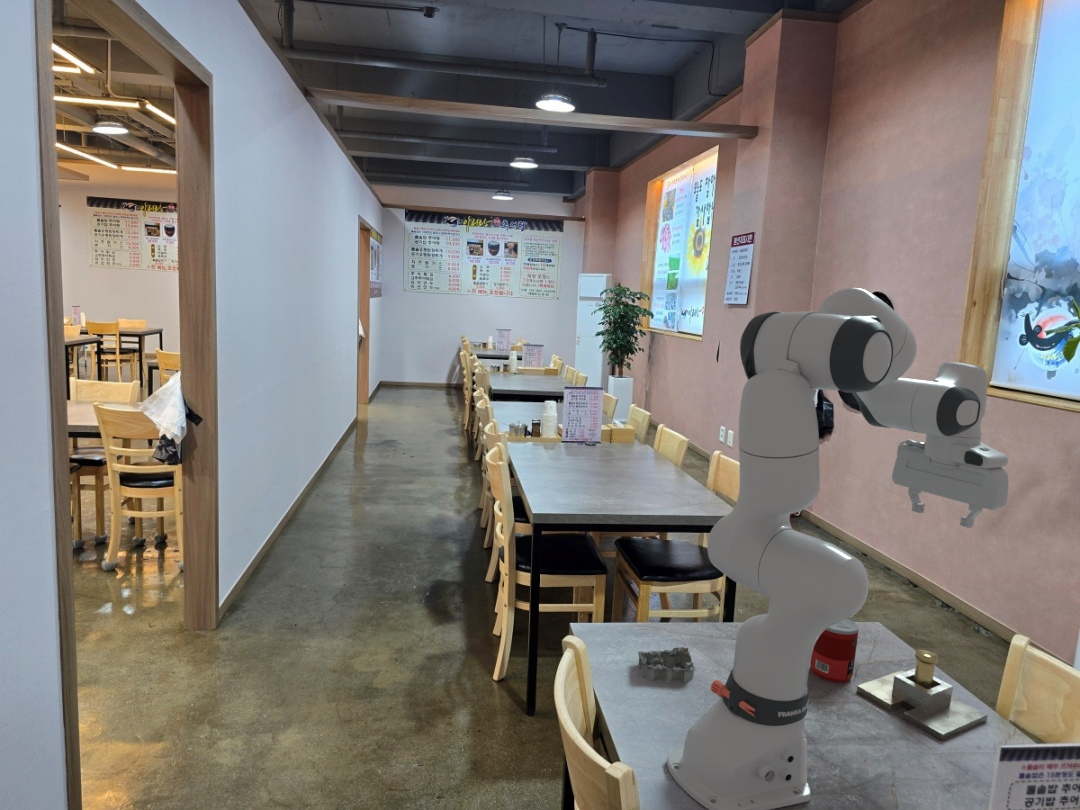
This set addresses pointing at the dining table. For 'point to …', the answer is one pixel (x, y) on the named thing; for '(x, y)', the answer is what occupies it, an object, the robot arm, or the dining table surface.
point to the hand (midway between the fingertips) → (941, 519)
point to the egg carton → (670, 659)
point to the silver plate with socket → (923, 703)
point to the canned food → (835, 652)
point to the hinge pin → (925, 668)
